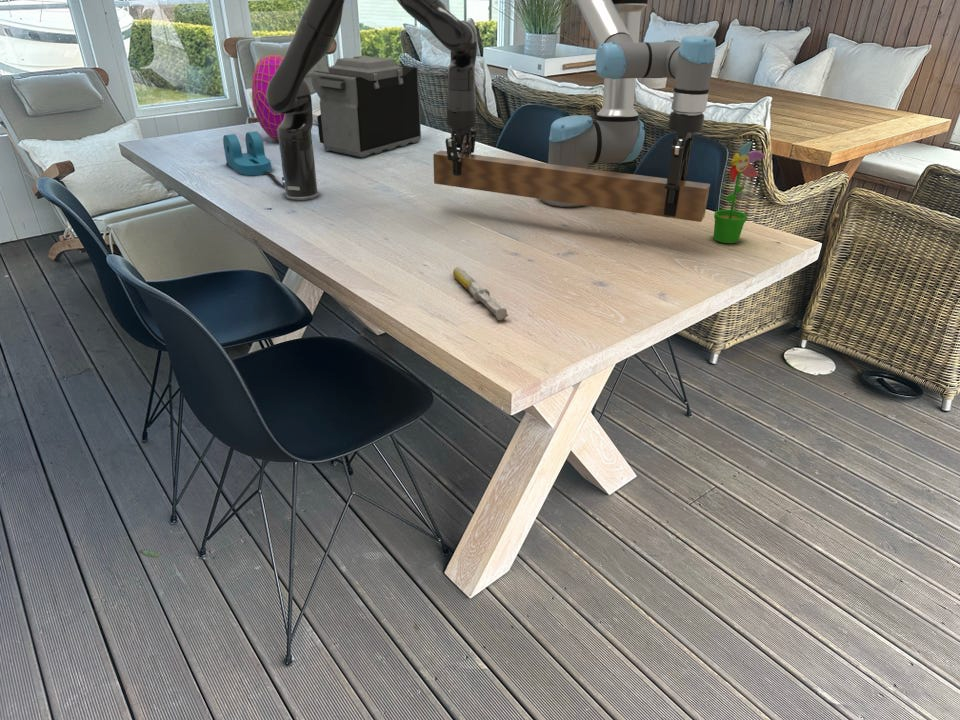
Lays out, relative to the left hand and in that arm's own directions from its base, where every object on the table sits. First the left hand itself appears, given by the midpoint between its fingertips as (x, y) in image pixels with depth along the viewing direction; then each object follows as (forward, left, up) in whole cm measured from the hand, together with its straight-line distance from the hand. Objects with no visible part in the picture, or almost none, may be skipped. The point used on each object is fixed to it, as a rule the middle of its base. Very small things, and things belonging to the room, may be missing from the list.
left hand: (461, 172), depth 186 cm
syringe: (+44, -32, -11) cm, 56 cm away
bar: (+26, +12, -3) cm, 29 cm away
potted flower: (+59, +40, -11) cm, 72 cm away
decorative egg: (-110, +2, -11) cm, 111 cm away
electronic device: (-82, +24, -11) cm, 86 cm away
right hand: (+52, +23, -2) cm, 57 cm away
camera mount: (-80, -25, -11) cm, 84 cm away
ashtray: (-127, +37, -11) cm, 133 cm away
